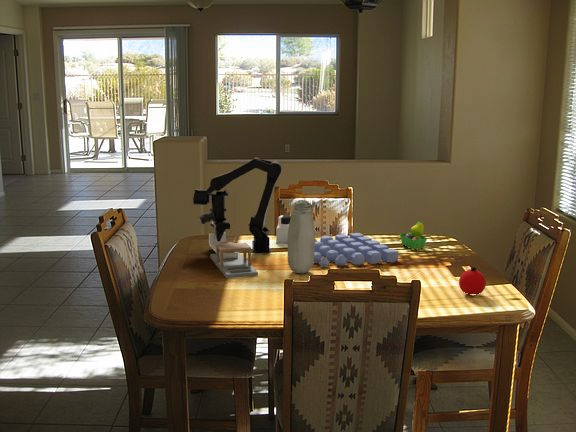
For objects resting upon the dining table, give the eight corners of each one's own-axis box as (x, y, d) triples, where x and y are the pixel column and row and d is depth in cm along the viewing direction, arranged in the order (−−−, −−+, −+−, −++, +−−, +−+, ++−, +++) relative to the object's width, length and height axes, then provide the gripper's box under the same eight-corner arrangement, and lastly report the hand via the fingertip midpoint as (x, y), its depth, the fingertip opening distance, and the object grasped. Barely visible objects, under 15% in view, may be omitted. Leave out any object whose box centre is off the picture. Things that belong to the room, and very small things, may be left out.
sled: (224, 243, 289) (224, 232, 288) (238, 257, 267) (238, 245, 266) (209, 244, 287) (209, 233, 286) (221, 258, 265) (220, 246, 264)
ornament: (464, 289, 236) (466, 262, 233) (489, 294, 230) (491, 266, 228) (453, 295, 229) (455, 267, 227) (478, 301, 223) (480, 272, 221)
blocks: (398, 263, 270) (398, 251, 269) (320, 270, 258) (321, 258, 257) (358, 243, 302) (359, 232, 301) (288, 249, 290) (288, 238, 289)
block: (232, 251, 272) (231, 241, 272) (234, 254, 268) (234, 244, 267) (220, 252, 271) (219, 242, 270) (222, 255, 266) (222, 245, 265)
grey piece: (238, 255, 276) (238, 235, 275) (257, 275, 249) (257, 254, 247) (210, 257, 273) (210, 237, 271) (226, 278, 245) (226, 256, 243)
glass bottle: (311, 277, 248) (313, 203, 242) (285, 275, 250) (285, 202, 244) (315, 269, 258) (317, 198, 252) (290, 267, 260) (291, 197, 254)
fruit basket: (398, 245, 297) (399, 220, 295) (414, 243, 301) (415, 219, 298) (413, 251, 287) (414, 226, 285) (429, 249, 291) (431, 224, 288)
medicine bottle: (293, 240, 304) (293, 214, 302) (291, 243, 297) (292, 217, 295) (277, 239, 305) (278, 214, 303) (276, 243, 298) (276, 217, 296)
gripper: (195, 202, 288) (196, 237, 291) (203, 210, 270) (204, 247, 273) (220, 201, 291) (221, 236, 294) (230, 209, 274) (230, 246, 277)
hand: (218, 241), depth 285 cm, fingers closed
